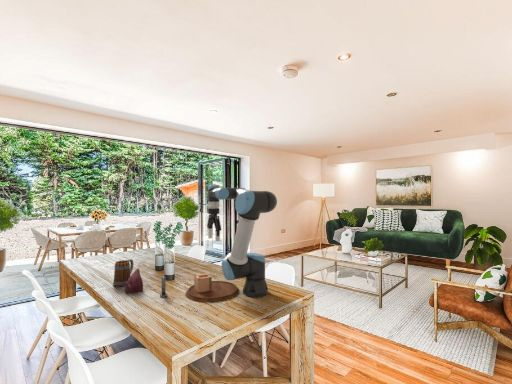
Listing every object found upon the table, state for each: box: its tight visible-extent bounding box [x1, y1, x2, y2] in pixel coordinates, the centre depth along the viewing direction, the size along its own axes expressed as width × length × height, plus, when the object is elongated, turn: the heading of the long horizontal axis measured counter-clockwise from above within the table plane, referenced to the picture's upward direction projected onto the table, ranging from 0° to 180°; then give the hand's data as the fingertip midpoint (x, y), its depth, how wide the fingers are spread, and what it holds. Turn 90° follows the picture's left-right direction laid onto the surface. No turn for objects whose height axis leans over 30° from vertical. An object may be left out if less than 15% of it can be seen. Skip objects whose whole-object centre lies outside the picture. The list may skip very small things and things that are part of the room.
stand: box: [159, 276, 168, 298], centre depth 155 cm, size 4×4×11 cm
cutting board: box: [185, 280, 240, 304], centre depth 162 cm, size 32×32×3 cm
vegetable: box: [124, 267, 144, 295], centre depth 165 cm, size 10×10×15 cm
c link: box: [193, 273, 213, 293], centre depth 160 cm, size 8×8×8 cm
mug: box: [112, 258, 134, 288], centre depth 179 cm, size 16×11×15 cm
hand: (213, 239), depth 179 cm, fingers open, 13 cm apart
